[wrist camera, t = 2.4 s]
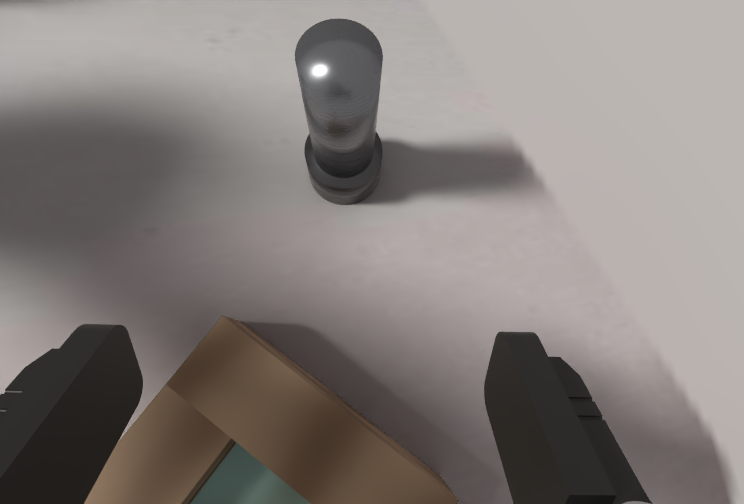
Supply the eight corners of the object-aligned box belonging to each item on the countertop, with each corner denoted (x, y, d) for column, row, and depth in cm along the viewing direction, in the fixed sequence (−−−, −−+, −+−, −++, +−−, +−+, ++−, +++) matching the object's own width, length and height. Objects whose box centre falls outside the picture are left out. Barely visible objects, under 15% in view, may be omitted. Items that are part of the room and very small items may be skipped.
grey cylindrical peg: (295, 177, 27) (258, 64, 17) (338, 127, 28) (329, -11, 18) (351, 218, 27) (350, 127, 16) (392, 165, 28) (417, 47, 17)
